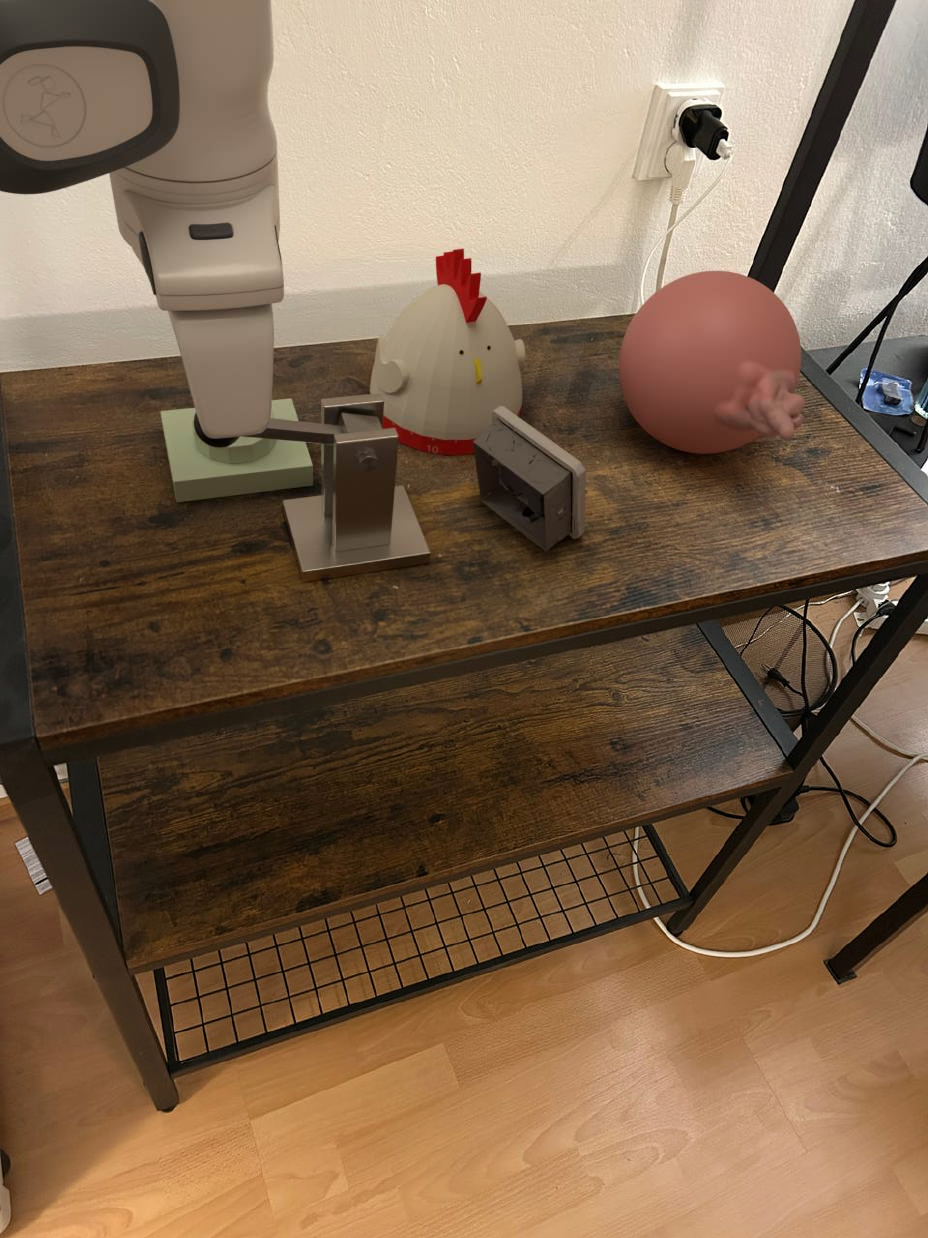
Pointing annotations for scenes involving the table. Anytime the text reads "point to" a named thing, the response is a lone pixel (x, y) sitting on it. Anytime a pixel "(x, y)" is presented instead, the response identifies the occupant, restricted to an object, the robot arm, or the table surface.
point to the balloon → (712, 364)
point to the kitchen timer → (448, 364)
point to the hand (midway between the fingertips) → (218, 402)
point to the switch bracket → (355, 503)
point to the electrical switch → (530, 480)
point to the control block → (233, 459)
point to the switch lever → (300, 430)
